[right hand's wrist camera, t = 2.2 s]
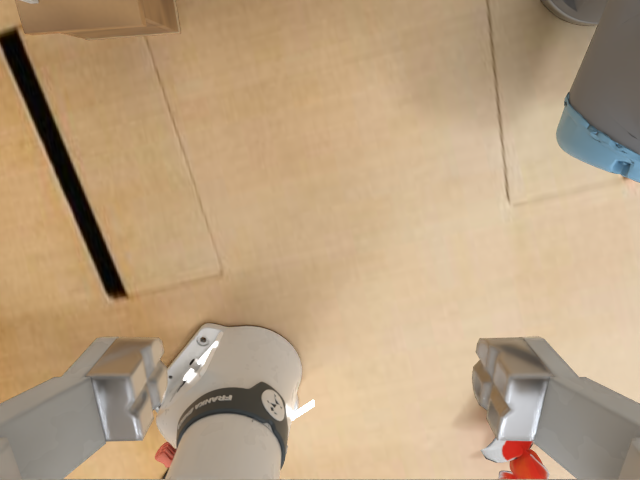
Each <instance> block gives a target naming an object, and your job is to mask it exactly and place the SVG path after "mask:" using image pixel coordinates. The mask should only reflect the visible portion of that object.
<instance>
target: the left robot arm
mask: <svg viewBox="0 0 640 480" xmlns="http://www.w3.org/2000/svg"><path fill="white" fill-rule="evenodd" d="M541 1H542V3H543V4H544V5H545V6H546V7H547V9H548V10H549V11H551V12H552V13H553V14H554V15H556V16H557V17H559V18H560V19H563V20H565V21H567V22H570V23H573V24H577V25H585V26H593V25H598V26H597V28H596V31H595V33H594V35H593V38H592V40H591V42H590V45H589V47H588V50H587V52H586V54H585V57H584V59H583V61H582V64H581V66H580V68H579V71H578V73H577V75H576V78H575V80H574V82H573V85H572V87H571V90H570V92H569V93H568V94H567V96H566V98H565V101H564V106H565V108H564V111H563V113H562V116H561V119H560V122H559V125H558V128H557V132H556V138H557V142H558V144H559V146H560V147H561V148H562V149H563V150H564V151H565V152H566V153H568V154H569V155H571V156H573V157H575V158H577V159H579V160H581V161H583V162H585V163H587V164H590V165H592V166H595V167H597V168H600V169H603V170H605V171H608V172H611V173H615V174H621V175H622V176H624V177H627V178H630V179H632V180H634V181H636V182H639V183H640V0H541Z"/></svg>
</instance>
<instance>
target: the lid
mask: <svg viewBox="0 0 640 480" xmlns="http://www.w3.org/2000/svg"><path fill="white" fill-rule="evenodd" d="M15 2H16V5H17V9H18V12H19V16H20V19H21V23H22V26H23V30H24V33H25V34H30V35H39V34H53V33H66V32H80V31H93V30H107V29H120V28H134V27H146V26H147V25H146V20H145V15H144V9H143V4H142V0H15Z"/></svg>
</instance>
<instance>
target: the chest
mask: <svg viewBox="0 0 640 480" xmlns="http://www.w3.org/2000/svg"><path fill="white" fill-rule="evenodd" d="M142 4H143V9H144V15H145V20H146V25H147V26H146V27H134V28H120V29H107V30H93V31H80V32H66V33H62V34H66V35H71V36H75V37H79V38H84V39H86V40H97V39H110V38H124V37H137V36H151V35H165V34H178V33H181V30H180V24H179V18H178V12H177V6H176V0H142Z"/></svg>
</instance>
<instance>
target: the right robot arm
mask: <svg viewBox="0 0 640 480" xmlns="http://www.w3.org/2000/svg"><path fill="white" fill-rule="evenodd" d="M202 337H204V338H206V340H204V339H202ZM163 353H164V348H163V343H162V340H161V339H159V338H149V337H100V338H96V339H95V340H94V342H93V343H92V344H91V345H90V346H89V347H88V348H87V349H86V350H85V351H84V353H83V354H82V355H81V356H80V357H79V358H78V359H77V360H76V361H75V362H74V363H73V365H72V366H71V367H70V368H69V369H68V370H67V371H66V372H65V373H64V374H63V375H62V377H54V378H52V379H50V380H48V381H46V382H44V383H41V384H39V385H37V386H35V387H33V388H31V389H29V390H27V391H25V392H23V393H21V394H19V395H17V396H15V397H13V398H11V399H9V400H7V401H5V402H3V403H1V404H0V480H640V404H639V403H637V402H635V401H633V400H631V399H629V398H627V397H625V396H623V395H621V394H619V393H617V392H615V391H613V390H611V389H609V388H607V387H605V386H603V385H601V384H598V383H596V382H594V381H592V380H590V379H588V378H586V377H578V375H577V374H576V373H575V372H574V371H573V370H572V369H571V368H570V367H569V366H568V365H567V363H566V362H565V361H564V360H563V359H562V358H561V357H560V356H559V355H558V354H557V353H556V351H555V350H554V349H553V348H552V347H551V346H550V345H549V344H548V343H547V342H546V340H545V339H543V338H541V337H519V338H480V339H479V341H478V343H477V347H476V353H477V355H478V357H479V359H480V360H479V361H478V363H477V364H476V365H475V366H474V367H473V374H472V383H473V390H474V394H475V397H476V399H477V401H478V403H479V405H480V406H482V407H483V408H485V409H486V410H487V417H486V419H487V421H488V423H489V425H490V427H491V429H492V431H493V433H494V435H495V436H496V438H497V440H502V441H534V443H535V444H536V445H537V446H538V447H539V448H541V449H542V450H543V451H544V452H545V453H547V454H548V455H549V456H550V457H551V458H553V459H554V460H555V461H556V462H557V463H559V464H560V465H561V466H562V467H563V468H565V469H566V470H567V471H568V472H569V473H571V474H572V475H573V476H574V477H575V478H577V479H280V470H281V468H282V466H283V464H284V461H285V455H286V453H287V447H288V446H287V440H288V436H289V431H290V427H291V422H292V420H294V419H295V418H297V417H298V416H300V415H301V414H303V413H305V412H306V411H308V410H309V409H311V408H312V407H314V406H315V401H314V400H312V401H311V402H309V403H308V404H306V405H305V406H303V407H301V408H300V409H298V406H299V401H298V395H297V391H298V388H299V385H300V382H301V378H302V365H301V361H300V358H299V355H298V353H297V352H296V350H295V349H294V347H293V346H292V345H291V344H290V343H289V342H288V341H287V340H286V339H285V338H283V337H282V336H281V335H279V334H277V333H275V332H273V331H271V330H268V329H265V328H261V327H256V326H238V327H226V326H222V325H218V324H213V323H206V324H204V325H202V326H201V327H200V329H199V330H198V331H197V332H196V334H195V335H194V336H193V337H192V339H191V340H190V341H189V342H188V343H187V345H186V346H185V347H184V348H183V350H182V351H181V352H180V353H179V354H178V356H177V357H176V358H175V359H174V361H173V362H172V363H171V364H170V365H169V367H168V368H167V367H166V366H165V365H164V364H163V363H162V361H161V360H160V359H161V357H162V355H163ZM154 409H155V410H156V412H157V416H156V424H157V427H158V429H159V431H160V433H161V434H162V435H163V437H164V438H165V439H166V440H167V441H168V442H166V443H164V444H163V445H162V446H161V447H160V449H159V450H158V451H157V453H156V456H155V459H156V460H157V461H159V462H161V463H163V464H164V465H165V467H167V468H169V467H170V468H169V469H168V471H167V472H166V474H165V476H164V477H163V479H63V478H65V477H66V476H67V475H68V474H69V473H71V472H72V471H73V470H74V469H76V468H77V467H78V466H79V465H80V464H82V463H83V462H84V461H85V460H86V459H88V458H89V457H90V456H91V455H92V454H94V453H95V452H96V451H97V450H98V449H100V448H101V447H102V446H103V445H104V444H106V441H137V440H143V439H144V437H145V435H146V433H147V431H148V429H149V427H150V425H151V423H152V421H153V419H154V417H153V410H154ZM173 447H174V448H175V449H174V448H173Z"/></svg>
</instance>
